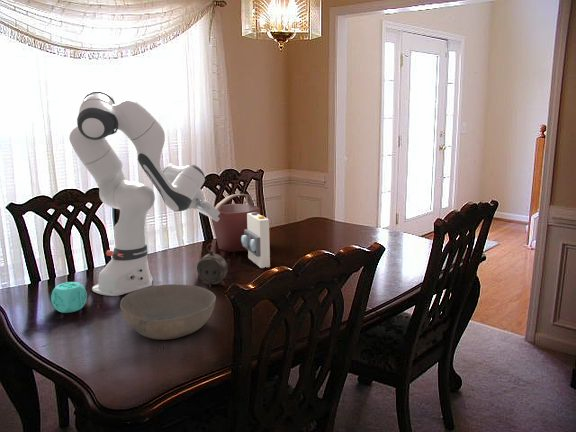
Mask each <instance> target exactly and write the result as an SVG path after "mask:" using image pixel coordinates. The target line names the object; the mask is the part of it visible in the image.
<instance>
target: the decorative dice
mask: <svg viewBox="0 0 576 432" xmlns="http://www.w3.org/2000/svg"><path fill="white" fill-rule="evenodd" d="M50 299H51V304H52V306H53V308H54V309H55V310H56V311H57V312H60V313H63V314H68V313H74V312H78V311H80V310H82V309H83V308H84V306H85V305H86V303H87V299H88V294H87V290H86V288H85V286H84V285H83V284H81V283H80V282H78V281H67V282H63V283H59V284H57V285H56V286H55V287H54V288H53V289H52V292H51V295H50Z"/></svg>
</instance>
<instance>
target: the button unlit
mask: <svg viewBox="0 0 576 432" xmlns="http://www.w3.org/2000/svg"><path fill="white" fill-rule="evenodd" d="M241 242H242V246H243V247H248V246H249V238H248V235H242V237H241Z"/></svg>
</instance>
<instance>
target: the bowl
mask: <svg viewBox="0 0 576 432" xmlns="http://www.w3.org/2000/svg"><path fill="white" fill-rule="evenodd" d="M216 301H217V296H216V294H215V293H214V292H212V291H211V290H209V289H208V288H205V287H202V286H197V285H191V284H176V283H175V284H172V283H171V284H159V285H152V286H149V287H145V288H142V289H139V290H135V291H132V292H129V293H127V294H125V296H124V297H122V298H121V300H120V303H119V308H120V311H121V314H122V315H123V318H124V319H125V320H126V323H127V324H128V325H129V326H130V327H131V328H132V330H134V331H135V332H136V333H138V334H139V335H141V336H143V337H144V338H148V339H153V340H160V341H161V340H162V341H165V340H174V339H178V338H181V337H184V336H188V335H191V334H193V333H196V331H199V330H200V329H201V328H202V327H203V326H204V325H205V324H207V322H208V321H209V319H210V318H211V316H212V315H213V314H212V313H213V311H214V309H215V306H216Z"/></svg>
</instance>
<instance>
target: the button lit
mask: <svg viewBox="0 0 576 432" xmlns="http://www.w3.org/2000/svg"><path fill="white" fill-rule="evenodd" d="M250 246H251V250H252V251H256V239H251V241H250Z"/></svg>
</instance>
